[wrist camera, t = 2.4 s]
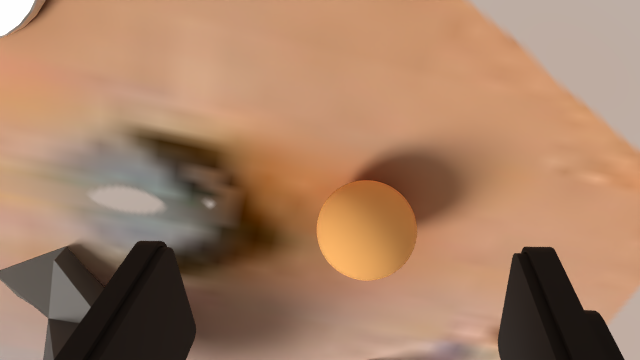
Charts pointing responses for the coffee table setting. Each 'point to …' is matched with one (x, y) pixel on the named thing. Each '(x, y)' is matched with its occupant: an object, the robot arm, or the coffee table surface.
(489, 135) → the coffee table surface
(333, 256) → the ball
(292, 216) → the coffee table surface
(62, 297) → the dark grey faceted piece
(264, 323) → the coffee table surface
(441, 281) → the coffee table surface
